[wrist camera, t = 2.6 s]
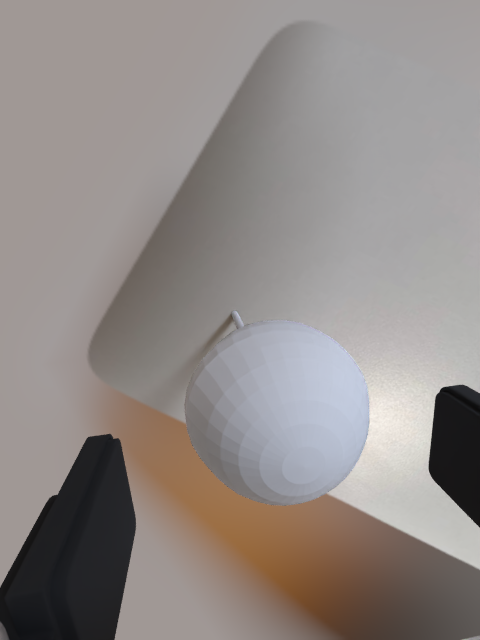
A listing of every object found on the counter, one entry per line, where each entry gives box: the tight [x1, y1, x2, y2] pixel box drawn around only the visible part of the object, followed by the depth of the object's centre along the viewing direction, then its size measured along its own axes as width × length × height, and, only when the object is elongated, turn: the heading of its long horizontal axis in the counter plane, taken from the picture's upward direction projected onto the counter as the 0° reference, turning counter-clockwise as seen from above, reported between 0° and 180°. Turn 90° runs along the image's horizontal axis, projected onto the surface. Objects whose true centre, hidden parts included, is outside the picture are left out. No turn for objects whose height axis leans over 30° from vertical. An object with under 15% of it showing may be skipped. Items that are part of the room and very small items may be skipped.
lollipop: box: [185, 311, 369, 506], centre depth 15 cm, size 6×6×15 cm
